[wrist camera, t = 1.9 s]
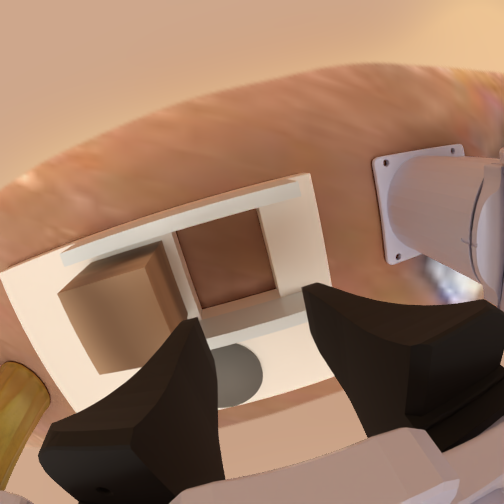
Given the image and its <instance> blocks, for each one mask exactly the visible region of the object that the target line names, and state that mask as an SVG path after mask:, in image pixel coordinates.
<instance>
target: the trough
mask: <svg viewBox="0 0 504 504" xmlns="http://www.w3.org/2000/svg"><path fill="white" fill-rule="evenodd" d="M300 196H301V192H300V188H299V183H298V181H295V180H290V179H284V180H280V181H276V182H272V183H268V184H264V185H260V186H256V187H252V188H249V189H245V190H241V191H238V192H234V193H230V194H227V195H223V196H219V197H216V198H212V199H209V200H205V201H202V202H199V203H195V204H192V205H188V206H185V207H182V208H178V209H175V210H172V211H169V212H165V213H162V214H159V215H156V216H153V217H150V218H147V219H143V220H140V221H137V222H134V223H131V224H128V225H125V226H122V227H119V228H116V229H114V230H111V231H108V232H105V233H102V234H99V235H96V236H94V237H91V238H88V239H85V240H82V241H80V242H77V243H75V244H74V245H72V246H71V247H69V248H68V249H66V250H65V251H63V252H62V253H60V257H61V259H62V262H63V265H64V267H66V266H69V265H72V264H75V263H78V262H81V261H84V260H87V259H90V258H93V257H96V256H99V255H102V254H105V253H108V252H111V251H114V250H117V249H120V248H123V247H126V246H129V245H132V244H136V243H139V242H142V241H145V240H148V239H152V238H155V237H158V236H161V235H165V234H168V233H171V232H174V231H178V230H181V229H185V228H188V227H191V226H195V225H198V224H202V223H205V222H208V221H212V220H215V219H219V218H222V217H226V216H230V215H233V214H237V213H240V212H244V211H248V210H251V209H255V208H259V207H262V206H266V205H270V204H274V203H277V202H281V201H285V200H289V199H293V198H297V197H300ZM199 322H200V325H201V327H202V330H203V333H204V335H205V338H206V340H207V343H208V345H209V348H210V350H212V349H216V348H220V347H224V346H227V345H231V344H235V343H239V342H242V341H246V340H249V339H253V338H257V337H260V336H263V335H267V334H270V333H274V332H277V331H280V330H284V329H287V328H290V327H293V326H297V325H300V324H303V323H306V322H308V318H307V313H306V308H305V303H304V298H303V293H302V291H301V292H297V293H294V294H291V295H288V296H284V297H281V298H278V299H274V300H271V301H267V302H264V303H261V304H257V305H254V306H250V307H247V308H243V309H240V310H236V311H232V312H229V313H225V314H221V315H218V316H214V317H210V318H207V319H203V320H199Z"/></svg>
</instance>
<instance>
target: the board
mask: <svg viewBox="0 0 504 504" xmlns="http://www.w3.org/2000/svg"><path fill="white" fill-rule="evenodd" d="M284 179H290V180H295V181H298V183H299V188H300V192H301V196H300V197H297V198H293V199H289V200H285V201H281V202H277V203H274V204H270V205H266V206H262V207H259V208H256V210H257V214H258V218H259V222H260V226H261V230H262V234H263V238H264V242H265V246H266V250H267V254H268V258H269V262H270V266H271V270H272V274H273V278H274V282H275V286H276V289H273V290H270V291H266V292H263V293H259V294H256V295H252V296H249V297H245V298H242V299H238V300H235V301H231V302H228V303H224V304H220V305H217V306H213V307H209V308H206V309H202V308H201V305H200V302H199V300H198V297H197V294H196V291H195V288H194V285H193V282H192V280H191V277H190V274H189V271H188V268H187V265H186V262H185V259H184V256H183V253H182V250H181V247H180V244H179V241H178V237H177V234H176V231H174V232H171V233H168V234H165V235H161V236H158V237H155V238H152V239H148V240H145V241H142V242H139V243H136V244H132V245H129V246H126V247H123V248H120V249H117V250H114V251H111V252H108V253H105V254H102V255H99V256H96V257H93V258H90V259H87V260H84V261H81V262H78V263H75V264H72V265H69V266H66V267H64V265H63V262H62V259H61V257H60V253H62V252H63V251H65V250H66V249H68V248H69V247H71V246H72V245H74V244H75V243H77V242H80V241H82V240H85V239H88V238H91V237H94V236H96V235H99V234H102V233H105V232H108V231H111V230H114V229H116V228H119V227H122V226H125V225H128V224H131V223H134V222H137V221H140V220H143V219H147V218H150V217H153V216H156V215H159V214H162V213H165V212H169V211H172V210H175V209H178V208H182V207H185V206H188V205H192V204H195V203H199V202H202V201H205V200H209V199H212V198H216V197H219V196H223V195H227V194H230V193H234V192H238V191H241V190H245V189H249V188H252V187H256V186H260V185H264V184H268V183H272V182H276V181H280V180H284ZM161 240H162V242H163V245H164V248H165V251H166V254H167V257H168V260H169V263H170V266H171V269H172V272H173V274H174V277H175V280H176V283H177V286H178V288H179V291H180V294H181V296H182V299H183V302H184V304H185V307H186V310H187V312H188V317H187V319H191V318H195V317H198V320H203V319H207V318H210V317H214V316H218V315H221V314H225V313H229V312H232V311H236V310H240V309H243V308H247V307H250V306H254V305H257V304H261V303H264V302H267V301H271V300H274V299H278V298H281V297H284V296H288V295H291V294H294V293H297V292H301V291H302V289H301V287H303V286H307V285H310V284H313V283H316V282H318V283H322V284H325V285H328V286H330V287H332V284H331V278H330V272H329V266H328V260H327V255H326V249H325V244H324V238H323V233H322V228H321V223H320V218H319V213H318V208H317V203H316V198H315V194H314V189H313V184H312V180H311V175H310V173H299V174H294V175H290V176H286V177H282V178H278V179H274V180H270V181H266V182H262V183H258V184H254V185H251V186H247V187H243V188H239V189H236V190H232V191H228V192H225V193H221V194H218V195H214V196H211V197H207V198H204V199H200V200H197V201H193V202H190V203H187V204H183V205H180V206H177V207H174V208H170V209H167V210H164V211H161V212H158V213H154V214H151V215H148V216H145V217H142V218H139V219H136V220H133V221H130V222H127V223H124V224H121V225H118V226H115V227H112V228H109V229H107V230H104V231H101V232H98V233H95V234H93V235H90V236H87V237H84V238H82V239H79V240H76V241H73V242H71V243H68V244H65V245H63V246H60V247H58V248H55V249H52V250H50V251H47V252H45V253H42V254H40V255H37V256H35V257H32V258H30V259H27V260H25V261H23V262H20V263H18V264H15V265H13V266H11V267H9V268H7V269H5V270H4V271H2V272H1V273H0V278H1V281H2V283H3V286H4V288H5V290H6V293H7V295H8V297H9V300H10V302H11V304H12V306H13V308H14V310H15V313H16V315H17V317H18V319H19V321H20V323H21V325H22V327H23V329H24V331H25V332H26V334H27V336H28V338H29V340H30V342H31V344H32V345H33V347H34V349H35V351H36V352H37V354H38V356H39V358H40V359H41V361H42V363H43V364H44V366H45V368H46V369H47V371H48V372H49V374H50V376H51V377H52V379H53V380H54V382H55V383H56V385H57V386H58V388H59V389H60V391H61V392H62V394H63V395H64V396H65V398H66V399H67V401H68V402H69V403H70V405H71V406H72V408H73V409H74V410H75V412H76V413H78V412H80V411H82V410H84V409H86V408H87V407H89V406H91V405H93V404H95V403H96V402H98V401H100V400H101V399H103V398H104V397H106V396H107V395H109V394H110V393H112V392H113V391H114V390H116V389H117V388H118V387H120V386H121V385H122V384H124V383H125V382H126V381H127V380H129V379H130V378H131V377H132V376H133V375H134V374H135V373H137V372H138V371H139V370H140V369H141V368H142V367H141V368H136V369H130V370H125V371H120V372H114V373H108V374H102V375H99V373H98V372H97V370H96V368H95V367H94V365H93V363H92V362H91V360H90V358H89V356H88V355H87V353H86V351H85V349H84V347H83V346H82V344H81V342H80V340H79V338H78V336H77V334H76V332H75V330H74V328H73V326H72V324H71V322H70V320H69V318H68V316H67V314H66V312H65V310H64V308H63V306H62V304H61V301H60V299H59V297H58V295H57V293H59V292H60V291H61V290H62V289H63V288H64V287H65V286H66V285H67V284H68V283H69V282H70V281H71V280H72V279H73V278H74V277H76V276H77V275H78V274H79V273H80V272H81V271H82V270H83V269H84V268H85V267H86V266H88V265H89V264H90V263H91V262H94V261H97V260H100V259H103V258H106V257H110V256H113V255H116V254H119V253H122V252H125V251H128V250H131V249H135V248H138V247H141V246H144V245H147V244H151V243H154V242H157V241H161ZM237 344H240V345H242V346H244V347H246V348H248V349H249V350H251V351H252V352H253V353H254V354H255V355H256V356H257V358H258V359H259V361H260V364H261V367H262V371H263V381H262V384H261V386H260V389H259V390H258V391H257V393H256V394H255V395H254V396H253V397H252V398H250V399H249V400H247V401H246V402H244V403H242V404H246V403H250V402H253V401H257V400H261V399H265V398H268V397H272V396H275V395H279V394H282V393H286V392H289V391H292V390H295V389H298V388H302V387H305V386H308V385H311V384H314V383H317V382H320V381H323V380H325V379H328V378H331V377H334V374H333V373H332V371H331V370H330V368H329V366H328V365H327V363H326V362H325V360H324V359H323V357H322V356H321V354H320V352H319V350H318V348H317V346H316V344H315V342H314V340H313V338H312V335H311V333H310V329H309V323H308V322H306V323H303V324H300V325H297V326H293V327H290V328H287V329H284V330H280V331H277V332H274V333H270V334H267V335H263V336H260V337H257V338H253V339H249V340H246V341H242V342H239V343H237ZM242 404H239V405H242ZM236 406H237V405H236ZM227 408H229V407H227ZM220 409H225V408H218V410H220Z"/></svg>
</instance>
